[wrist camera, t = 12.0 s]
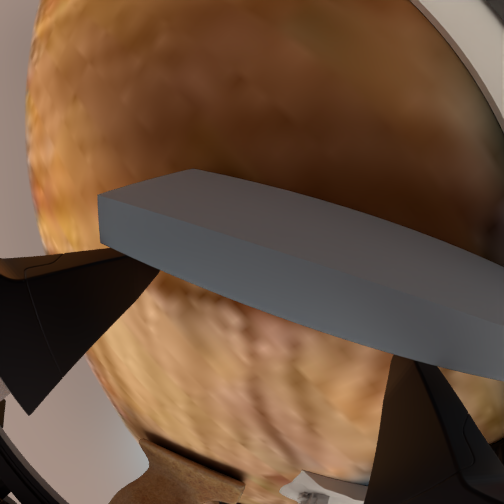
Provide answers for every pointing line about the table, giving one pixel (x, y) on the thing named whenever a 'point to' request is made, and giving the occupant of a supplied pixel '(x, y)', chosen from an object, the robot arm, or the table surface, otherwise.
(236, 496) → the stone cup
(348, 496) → the miniature house
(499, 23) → the bracket
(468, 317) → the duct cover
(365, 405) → the table surface
